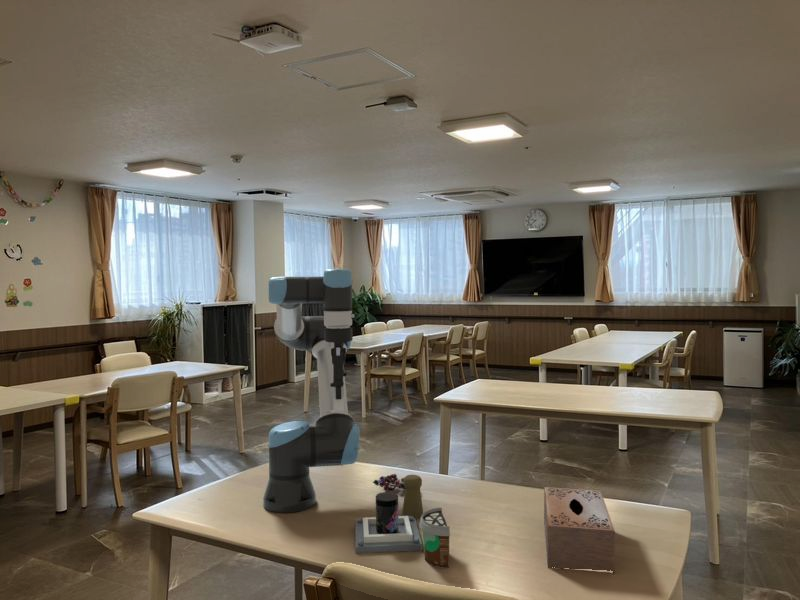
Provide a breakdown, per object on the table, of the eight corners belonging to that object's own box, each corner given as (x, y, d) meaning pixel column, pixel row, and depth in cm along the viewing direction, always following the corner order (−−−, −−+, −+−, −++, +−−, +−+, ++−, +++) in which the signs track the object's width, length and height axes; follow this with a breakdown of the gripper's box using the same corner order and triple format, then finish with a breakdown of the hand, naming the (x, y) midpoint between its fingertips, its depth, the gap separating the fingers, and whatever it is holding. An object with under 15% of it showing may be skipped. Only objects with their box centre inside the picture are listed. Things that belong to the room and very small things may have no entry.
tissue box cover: (614, 574, 136) (614, 530, 136) (547, 568, 139) (547, 525, 139) (600, 527, 162) (600, 490, 161) (544, 523, 164) (544, 486, 164)
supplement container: (382, 538, 152) (382, 502, 151) (371, 530, 157) (371, 495, 156) (403, 533, 155) (402, 498, 154) (391, 525, 160) (391, 491, 159)
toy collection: (367, 492, 185) (369, 477, 185) (383, 480, 199) (385, 466, 199) (413, 504, 180) (416, 488, 180) (426, 492, 194) (429, 477, 194)
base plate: (355, 525, 163) (355, 514, 163) (415, 523, 164) (414, 512, 164) (355, 553, 147) (355, 540, 147) (421, 550, 148) (421, 538, 148)
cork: (421, 519, 167) (421, 480, 166) (399, 518, 168) (399, 478, 167) (425, 511, 173) (425, 473, 172) (404, 509, 174) (403, 471, 173)
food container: (416, 547, 150) (416, 507, 149) (441, 546, 150) (441, 506, 150) (422, 572, 138) (422, 528, 137) (450, 570, 138) (449, 527, 138)
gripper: (352, 331, 151) (353, 416, 152) (352, 322, 176) (352, 396, 177) (322, 331, 151) (323, 416, 151) (326, 323, 175) (326, 396, 176)
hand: (339, 405), depth 164 cm, fingers open, 13 cm apart
